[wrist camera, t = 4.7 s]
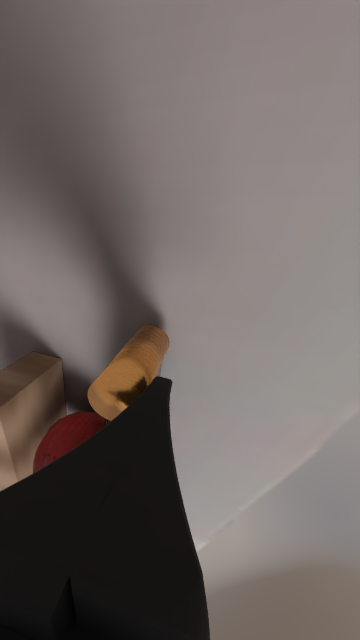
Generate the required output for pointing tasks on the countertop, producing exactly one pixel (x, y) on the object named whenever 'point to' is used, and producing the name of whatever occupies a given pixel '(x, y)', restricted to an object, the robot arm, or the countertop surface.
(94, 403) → the lever
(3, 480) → the bench
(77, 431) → the onion
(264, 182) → the countertop surface
